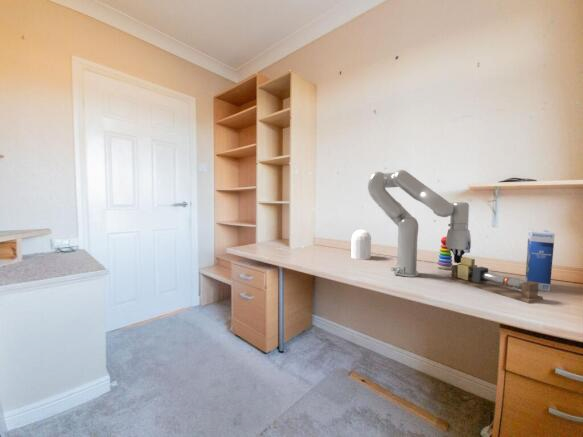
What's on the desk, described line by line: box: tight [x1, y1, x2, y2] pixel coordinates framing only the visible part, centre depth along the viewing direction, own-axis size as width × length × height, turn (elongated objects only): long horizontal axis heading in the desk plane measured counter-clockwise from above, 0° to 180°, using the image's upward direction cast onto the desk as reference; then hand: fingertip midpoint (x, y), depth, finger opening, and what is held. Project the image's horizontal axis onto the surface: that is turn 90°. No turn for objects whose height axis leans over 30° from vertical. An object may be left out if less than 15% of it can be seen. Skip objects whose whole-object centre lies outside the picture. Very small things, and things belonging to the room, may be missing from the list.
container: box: [350, 229, 372, 261], centre depth 174 cm, size 14×13×20 cm
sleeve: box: [457, 256, 478, 280], centre depth 122 cm, size 5×7×10 cm
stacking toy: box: [436, 236, 453, 271], centre depth 146 cm, size 8×8×19 cm
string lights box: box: [524, 229, 556, 293], centre depth 114 cm, size 13×8×26 cm, turn 141°
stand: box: [446, 264, 544, 304], centre depth 113 cm, size 33×10×7 cm, turn 22°
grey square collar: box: [472, 266, 489, 283], centre depth 117 cm, size 3×6×6 cm, turn 112°
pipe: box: [469, 268, 526, 291], centre depth 113 cm, size 30×4×4 cm, turn 22°
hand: (457, 262), depth 126 cm, fingers closed
